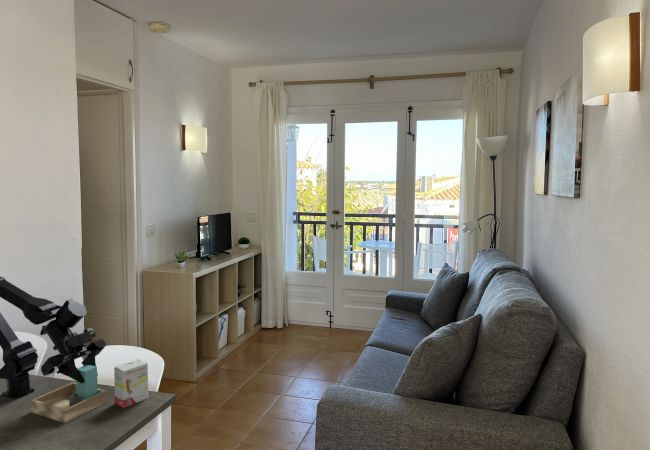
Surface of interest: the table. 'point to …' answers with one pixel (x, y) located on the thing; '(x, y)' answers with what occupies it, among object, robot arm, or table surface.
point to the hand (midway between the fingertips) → (90, 379)
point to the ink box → (131, 383)
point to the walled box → (66, 403)
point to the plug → (87, 382)
